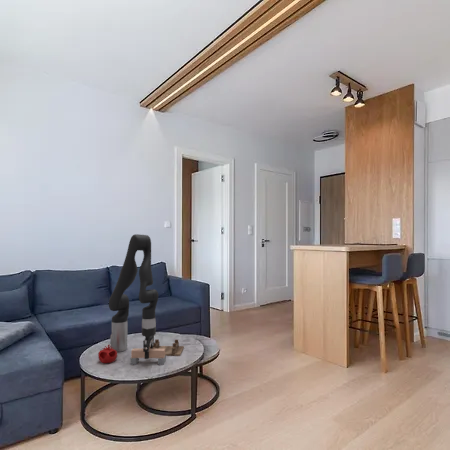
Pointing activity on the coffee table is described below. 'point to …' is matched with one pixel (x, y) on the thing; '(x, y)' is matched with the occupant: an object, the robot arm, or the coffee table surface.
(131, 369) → the coffee table surface
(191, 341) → the coffee table surface
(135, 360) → the blocks
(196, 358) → the coffee table surface
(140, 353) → the light wooden bar
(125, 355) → the coffee table surface
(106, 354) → the pomegranate
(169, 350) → the rack
